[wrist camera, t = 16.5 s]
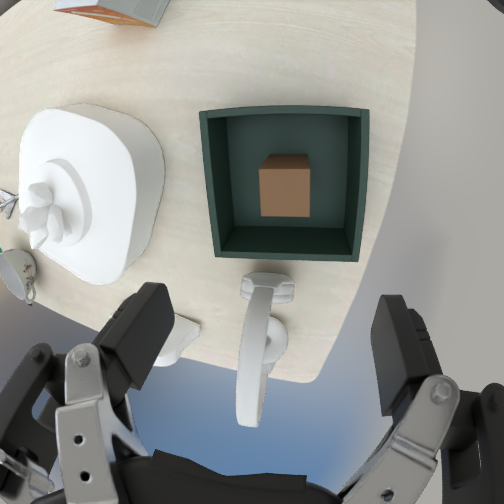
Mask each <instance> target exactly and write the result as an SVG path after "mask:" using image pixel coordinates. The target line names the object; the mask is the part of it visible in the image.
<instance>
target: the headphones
mask: <svg viewBox="0 0 504 504" xmlns="http://www.w3.org/2000/svg"><path fill="white" fill-rule="evenodd" d="M242 279H243V280H242V282H241V290H240V295H241V297H242V298H244V299H246V300H249V304H248V308H247V312H246V316H245V321H244V326H243V331H242V337H241V343H240V350H239V359H238V374H237V388H236V413H237V420H238V423H239V424H240V425H243V426H250V427H257V426H258V424H259V423H260V419H261V414H262V409H263V404H264V398H265V391H266V386H267V379H268V374H270V373H271V371H272V369H273V367H274V365H275V363H276V361H277V360H278V359H279V358H280V357H281V356H282V355H283V353H284V352H285V350H286V348H287V345H288V333H287V330H286V328H285V326H284V325H283V324H282V323H281V322H280V321H279V320H278V319H276V318H274V317H270V311H271V305H272V304H282V303H288V302H290V301H292V300H293V298H294V294H293V292H294V285H293V283H294V280H293V279H291V278H290V277H288V276H286V275H283V274H277V273H266V272H251V273H248V274H246V275H244V276H243V277H242Z"/></svg>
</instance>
